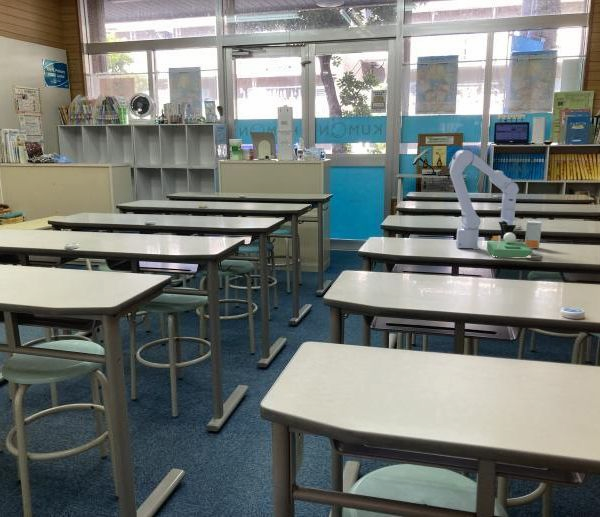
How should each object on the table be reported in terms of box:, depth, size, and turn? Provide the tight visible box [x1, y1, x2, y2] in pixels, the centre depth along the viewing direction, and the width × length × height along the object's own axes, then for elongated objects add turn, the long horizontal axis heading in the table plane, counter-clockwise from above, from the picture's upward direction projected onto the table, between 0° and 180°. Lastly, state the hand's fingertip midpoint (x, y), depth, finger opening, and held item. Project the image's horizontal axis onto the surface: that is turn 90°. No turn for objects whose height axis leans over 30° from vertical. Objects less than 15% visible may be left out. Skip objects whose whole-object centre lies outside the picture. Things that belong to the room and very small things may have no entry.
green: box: [486, 235, 533, 257], centre depth 231 cm, size 16×20×9 cm
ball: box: [502, 232, 517, 244], centre depth 236 cm, size 5×5×5 cm
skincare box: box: [524, 220, 543, 249], centre depth 244 cm, size 6×4×12 cm
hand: (505, 238), depth 244 cm, fingers open, 7 cm apart
